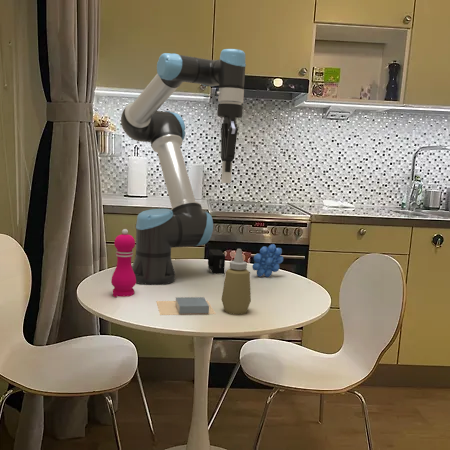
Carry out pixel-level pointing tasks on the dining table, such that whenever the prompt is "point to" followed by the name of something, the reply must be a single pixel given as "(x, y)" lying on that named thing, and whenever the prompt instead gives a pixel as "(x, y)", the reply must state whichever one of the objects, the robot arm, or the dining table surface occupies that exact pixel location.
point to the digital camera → (216, 261)
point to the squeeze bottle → (237, 286)
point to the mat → (174, 308)
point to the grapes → (267, 260)
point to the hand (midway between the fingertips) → (226, 182)
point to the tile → (192, 305)
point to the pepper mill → (124, 266)
